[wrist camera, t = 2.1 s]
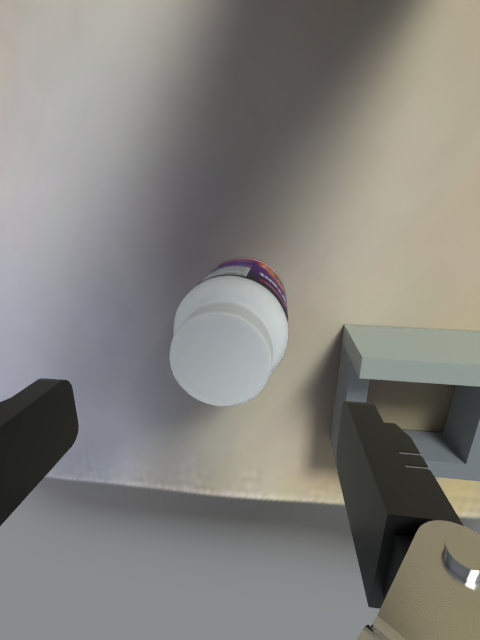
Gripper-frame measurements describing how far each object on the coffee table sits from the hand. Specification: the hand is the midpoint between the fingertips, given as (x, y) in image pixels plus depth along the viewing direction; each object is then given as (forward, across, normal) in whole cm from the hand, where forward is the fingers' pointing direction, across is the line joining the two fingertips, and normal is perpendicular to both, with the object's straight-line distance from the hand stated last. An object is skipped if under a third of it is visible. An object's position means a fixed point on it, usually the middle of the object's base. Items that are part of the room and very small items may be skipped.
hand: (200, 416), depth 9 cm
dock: (+13, -11, +6) cm, 18 cm away
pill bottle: (+13, 0, 0) cm, 13 cm away
